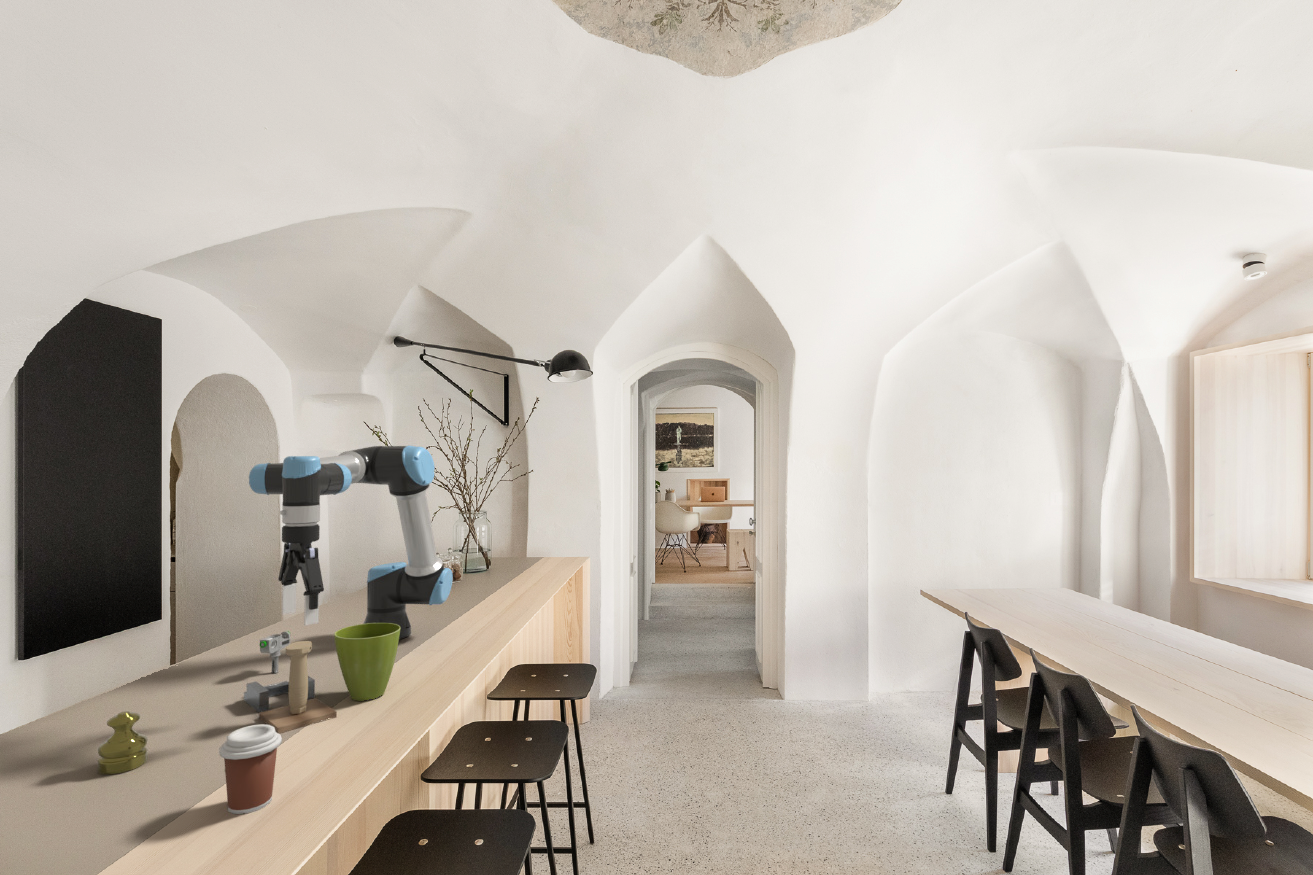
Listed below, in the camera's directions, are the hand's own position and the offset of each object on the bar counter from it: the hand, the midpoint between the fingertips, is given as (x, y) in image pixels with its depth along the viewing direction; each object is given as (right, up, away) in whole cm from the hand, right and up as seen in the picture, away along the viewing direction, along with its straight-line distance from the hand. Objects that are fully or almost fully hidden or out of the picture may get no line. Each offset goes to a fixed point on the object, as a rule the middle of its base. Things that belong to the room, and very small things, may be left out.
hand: (299, 618), depth 149 cm
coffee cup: (+12, -22, -37) cm, 44 cm away
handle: (0, -21, -1) cm, 21 cm away
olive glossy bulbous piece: (-21, -22, -24) cm, 38 cm away
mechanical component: (-23, -23, +29) cm, 44 cm away
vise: (-11, -22, +11) cm, 27 cm away
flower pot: (+10, -23, +13) cm, 28 cm away
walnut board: (0, -22, -1) cm, 22 cm away
